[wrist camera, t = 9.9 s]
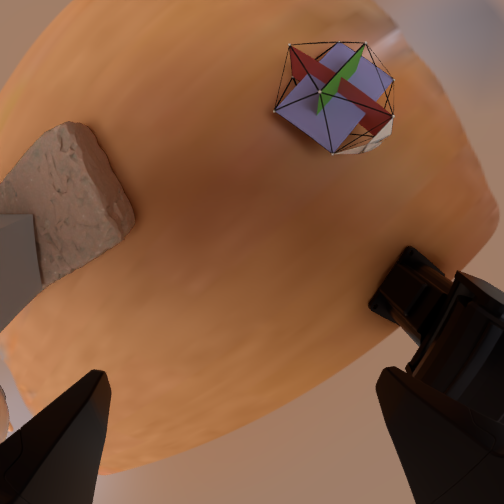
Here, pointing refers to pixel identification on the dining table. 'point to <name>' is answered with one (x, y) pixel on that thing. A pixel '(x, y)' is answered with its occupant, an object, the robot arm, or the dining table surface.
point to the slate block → (17, 265)
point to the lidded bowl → (3, 416)
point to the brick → (67, 200)
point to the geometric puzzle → (337, 97)
